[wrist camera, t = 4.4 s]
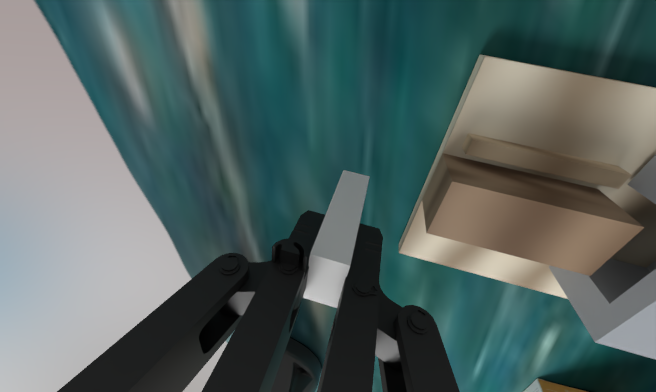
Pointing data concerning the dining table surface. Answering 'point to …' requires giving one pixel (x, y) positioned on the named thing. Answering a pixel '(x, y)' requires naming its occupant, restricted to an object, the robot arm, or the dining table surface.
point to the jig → (546, 155)
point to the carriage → (618, 292)
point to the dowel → (525, 215)
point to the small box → (549, 387)
